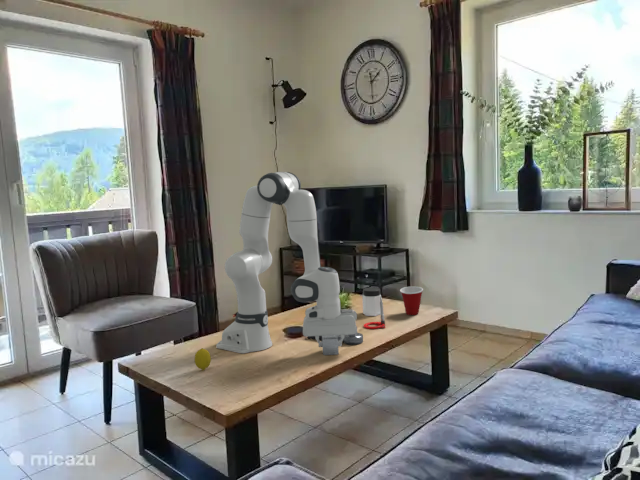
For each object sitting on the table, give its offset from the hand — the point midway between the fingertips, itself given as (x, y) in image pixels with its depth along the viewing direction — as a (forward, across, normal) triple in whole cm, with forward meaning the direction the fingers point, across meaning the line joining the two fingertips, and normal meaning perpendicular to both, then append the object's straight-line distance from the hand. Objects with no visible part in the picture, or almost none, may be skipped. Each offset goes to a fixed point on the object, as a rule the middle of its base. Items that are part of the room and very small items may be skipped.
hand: (330, 346), depth 190 cm
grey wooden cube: (+2, 0, 0) cm, 2 cm away
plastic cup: (+2, -41, -47) cm, 62 cm away
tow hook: (+3, -21, -30) cm, 37 cm away
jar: (+2, -22, -50) cm, 55 cm away
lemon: (+3, +45, +12) cm, 47 cm away
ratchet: (+2, -3, -14) cm, 15 cm away
